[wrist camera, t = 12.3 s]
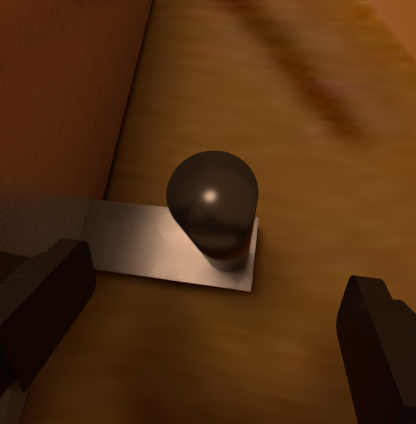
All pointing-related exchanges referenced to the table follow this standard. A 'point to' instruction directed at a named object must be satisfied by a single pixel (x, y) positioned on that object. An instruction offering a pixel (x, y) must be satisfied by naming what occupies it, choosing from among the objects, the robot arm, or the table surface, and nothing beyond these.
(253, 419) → the table surface
